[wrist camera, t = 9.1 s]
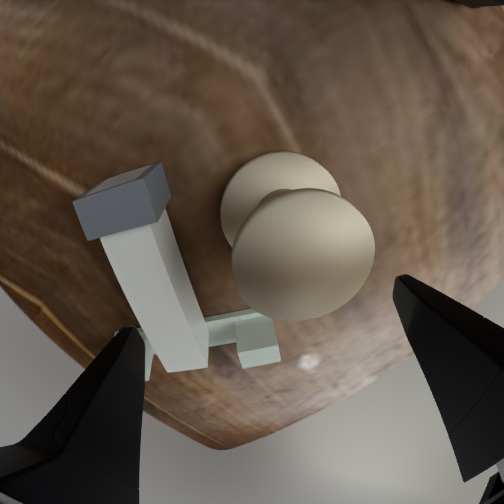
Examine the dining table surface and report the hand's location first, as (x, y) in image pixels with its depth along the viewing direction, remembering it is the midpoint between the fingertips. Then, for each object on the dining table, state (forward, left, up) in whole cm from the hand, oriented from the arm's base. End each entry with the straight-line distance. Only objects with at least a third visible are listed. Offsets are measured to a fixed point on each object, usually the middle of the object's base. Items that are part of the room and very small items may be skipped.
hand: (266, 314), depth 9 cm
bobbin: (+2, +2, -11) cm, 12 cm away
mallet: (+4, -7, -11) cm, 13 cm away
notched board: (+11, -7, -11) cm, 17 cm away
